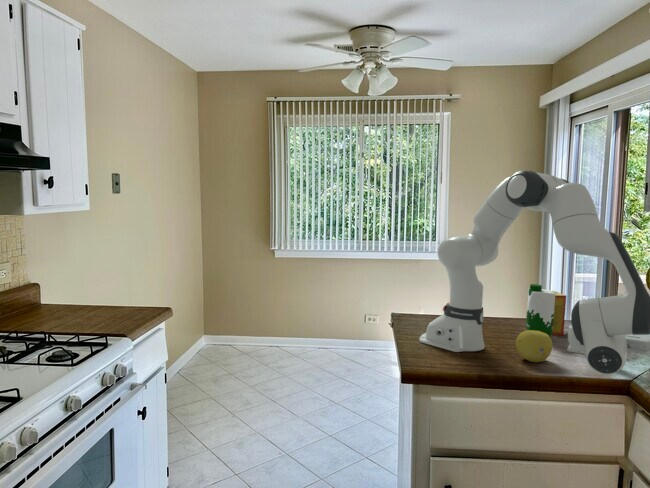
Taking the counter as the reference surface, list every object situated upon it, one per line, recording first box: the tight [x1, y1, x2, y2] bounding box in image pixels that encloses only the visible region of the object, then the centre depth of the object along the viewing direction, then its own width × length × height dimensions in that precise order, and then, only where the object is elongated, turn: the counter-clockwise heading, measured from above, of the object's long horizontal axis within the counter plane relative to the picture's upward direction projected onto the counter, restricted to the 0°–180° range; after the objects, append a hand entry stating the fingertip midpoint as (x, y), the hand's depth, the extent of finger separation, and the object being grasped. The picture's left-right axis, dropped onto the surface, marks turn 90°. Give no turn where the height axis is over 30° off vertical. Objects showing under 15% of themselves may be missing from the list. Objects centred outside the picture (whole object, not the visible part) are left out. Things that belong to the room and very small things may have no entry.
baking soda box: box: [551, 290, 567, 336], centre depth 179 cm, size 10×6×16 cm
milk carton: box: [525, 283, 555, 339], centre depth 171 cm, size 9×9×20 cm
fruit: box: [515, 329, 553, 363], centre depth 146 cm, size 10×11×10 cm
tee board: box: [567, 344, 586, 355], centre depth 155 cm, size 11×14×1 cm
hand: (609, 332), depth 131 cm, fingers open, 8 cm apart
